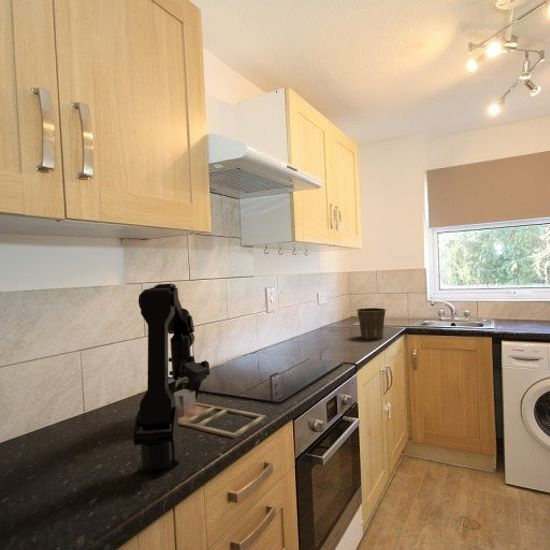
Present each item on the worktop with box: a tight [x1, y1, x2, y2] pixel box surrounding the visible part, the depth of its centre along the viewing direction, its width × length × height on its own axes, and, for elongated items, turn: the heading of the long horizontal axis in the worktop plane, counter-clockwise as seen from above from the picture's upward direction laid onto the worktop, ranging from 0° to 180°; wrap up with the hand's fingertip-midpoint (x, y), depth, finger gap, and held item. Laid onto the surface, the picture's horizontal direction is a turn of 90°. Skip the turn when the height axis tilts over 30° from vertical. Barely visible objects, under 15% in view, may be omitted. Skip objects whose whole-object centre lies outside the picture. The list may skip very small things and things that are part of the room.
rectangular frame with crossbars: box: [178, 401, 267, 439], centre depth 111 cm, size 14×32×1 cm, turn 58°
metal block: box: [174, 389, 197, 416], centre depth 115 cm, size 5×5×6 cm
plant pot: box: [356, 307, 387, 340], centre depth 217 cm, size 16×16×16 cm
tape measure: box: [175, 378, 190, 391], centre depth 138 cm, size 7×7×4 cm
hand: (183, 404), depth 115 cm, fingers open, 9 cm apart
